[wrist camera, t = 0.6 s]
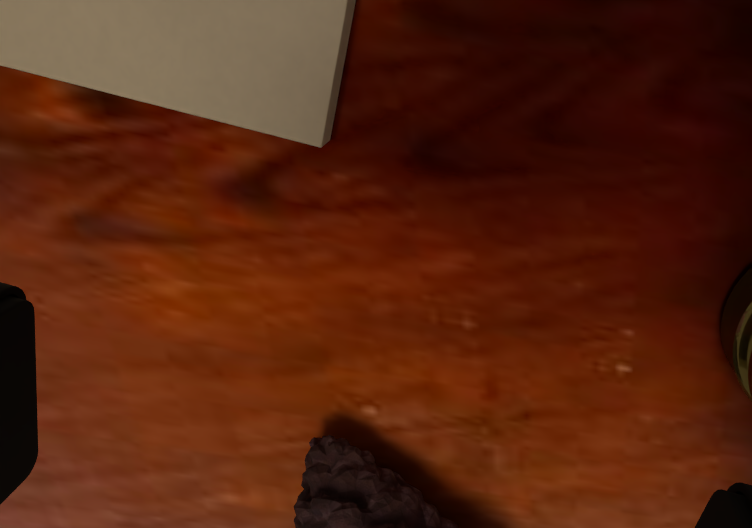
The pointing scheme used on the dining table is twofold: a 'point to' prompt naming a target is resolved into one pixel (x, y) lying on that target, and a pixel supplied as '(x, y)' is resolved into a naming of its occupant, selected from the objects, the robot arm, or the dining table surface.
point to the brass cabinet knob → (739, 331)
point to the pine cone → (358, 492)
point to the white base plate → (193, 56)
